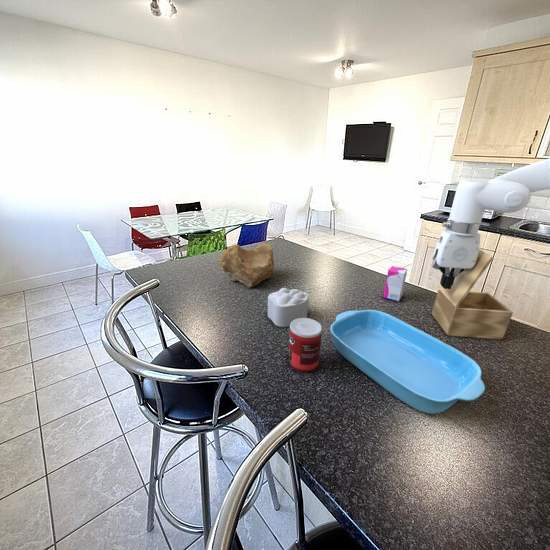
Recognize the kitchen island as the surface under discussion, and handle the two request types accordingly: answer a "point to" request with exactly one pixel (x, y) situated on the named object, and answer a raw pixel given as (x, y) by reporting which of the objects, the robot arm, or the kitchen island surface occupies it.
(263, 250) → the jagged tan rock
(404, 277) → the supplement box
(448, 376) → the casserole dish
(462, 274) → the lid
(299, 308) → the lumpy-topped squat cylinder
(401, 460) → the kitchen island surface
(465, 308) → the chest
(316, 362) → the canned food
